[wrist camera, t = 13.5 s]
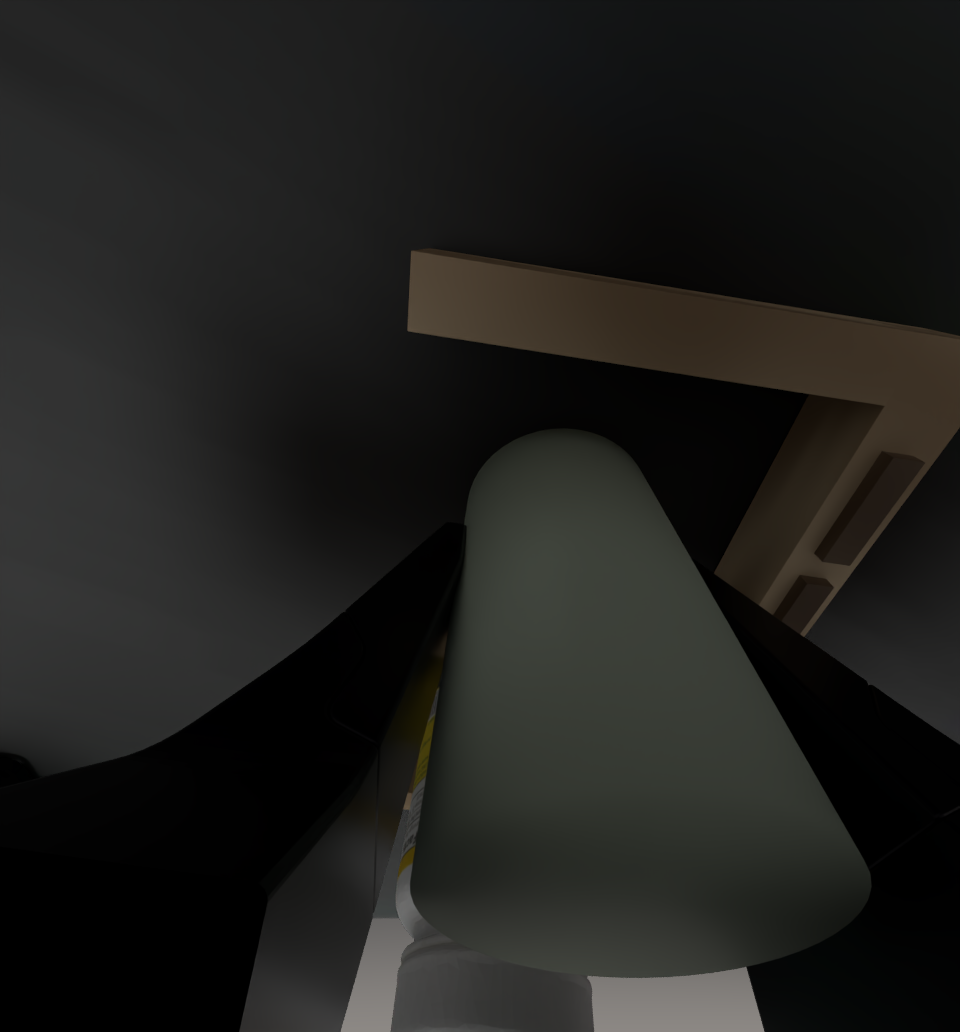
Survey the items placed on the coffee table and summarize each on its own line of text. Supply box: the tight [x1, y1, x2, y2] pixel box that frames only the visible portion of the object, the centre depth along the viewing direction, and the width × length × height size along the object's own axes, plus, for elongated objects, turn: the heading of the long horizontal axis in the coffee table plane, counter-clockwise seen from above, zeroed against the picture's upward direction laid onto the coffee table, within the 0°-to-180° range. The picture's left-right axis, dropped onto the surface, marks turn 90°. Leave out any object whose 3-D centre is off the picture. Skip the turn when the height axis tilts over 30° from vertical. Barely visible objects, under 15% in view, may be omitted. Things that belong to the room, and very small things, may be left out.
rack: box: [403, 248, 960, 810], centre depth 13 cm, size 18×10×2 cm, turn 172°
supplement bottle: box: [391, 673, 594, 1032], centre depth 12 cm, size 5×5×8 cm
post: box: [410, 428, 872, 978], centre depth 7 cm, size 4×4×7 cm
